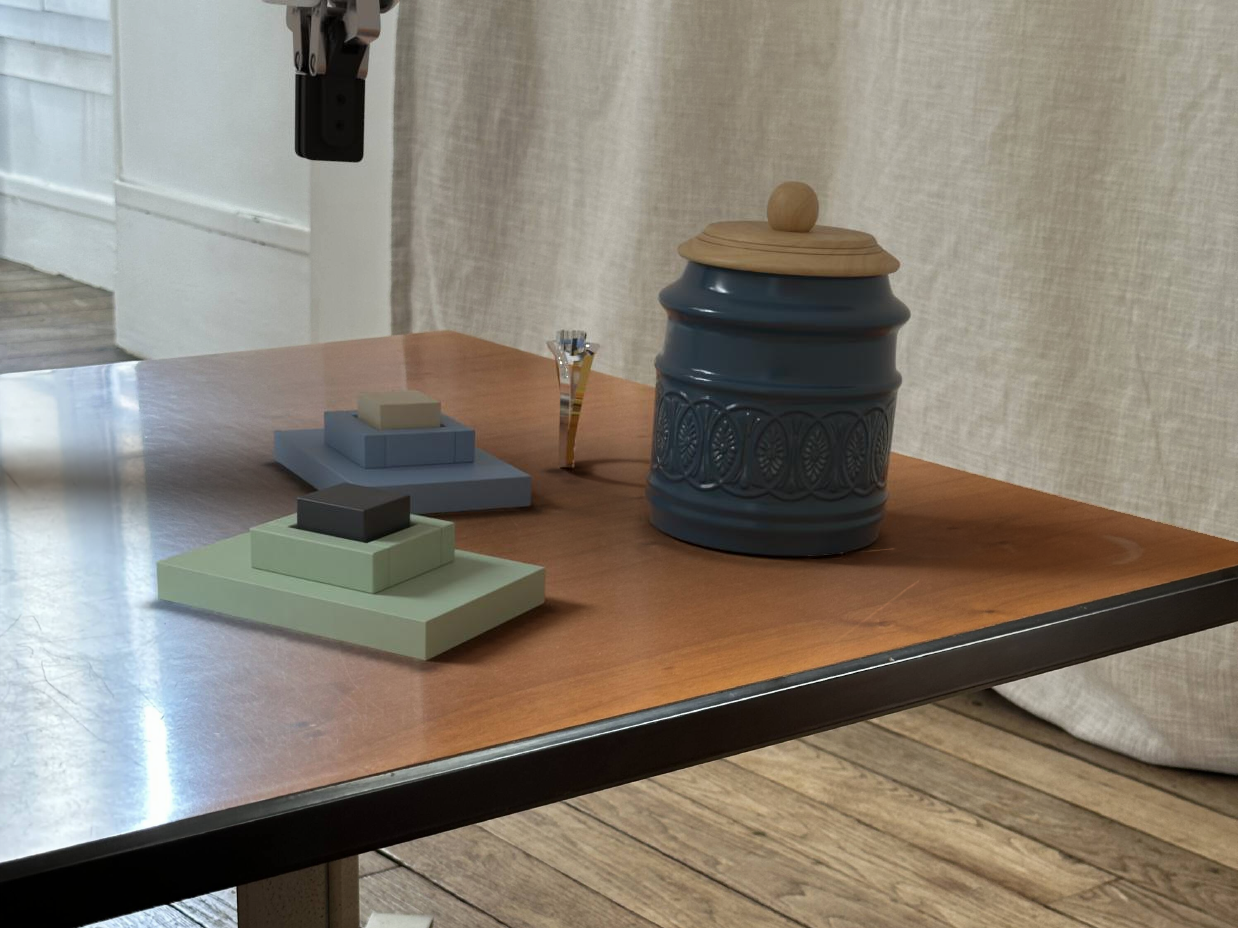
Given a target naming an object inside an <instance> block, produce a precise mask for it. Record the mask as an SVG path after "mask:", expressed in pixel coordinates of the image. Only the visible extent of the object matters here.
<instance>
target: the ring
mask: <svg viewBox="0 0 1238 928" xmlns="http://www.w3.org/2000/svg"><path fill="white" fill-rule="evenodd" d="M555 333H556V335H555V339H552V340H546V341H545V343H546V345H547V349H548V350H549V351H550V352H551V354H552V356H553V357H554V360H555V368H556V374H557V375H556V376H557V380H558V387H559V427H558V428H559V429H558V430H559V431H558V458H559V459H558V463H559V468H560V469H573V470H574V469H575V465H576V461H575V459H576V453H577V452H576V451H577V440H578V425H579V421H580V416H581V411H582V407H583V404H584V399H585V395H586V390H587V385H588V381H589V376H590V373H591V369H592V366H593V362H594V358H595V355H596V354H597V353H598V351H599V350H600V348H601V344H600V343H598V342H591V341H587V336H588V333H587V331H585V330H573V329H572V330H571V331H570V330H565V329H560V330H556V332H555ZM569 361H572V368H571V374H570V365H569Z"/></svg>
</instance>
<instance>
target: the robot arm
mask: <svg viewBox="0 0 1238 928" xmlns="http://www.w3.org/2000/svg"><path fill="white" fill-rule="evenodd" d="M400 1H401V0H261V2H263V3H265V4H270V5H277V6H278V5H279V6H286V12H285V24H286V27H287V28H288V30H290V31H291V33H292V51H293V53H292V54H293V68H294V71H295V74H294V153H295V154H296V156H298V157H299V158H303V159H306V160H309V161H314V162H315V161H317V162H335V163H360V162H362V161H363V159H364V155H365V119H366V118H365V117H366V115H365V114H366V113H365V111H366V79H367V77H368V72H369V64H370V63H369V61H370V48H371V43H372V42H374V41H376V40H377V39H379V37H380V35H381V29H382V25H381V24H382V23H381V21H382V20H381V15H382V14H383V15H384V14H386V13H389V12H390V11H391V10H393V9H394V8H395V7H396V6H397V5H398V4H399V2H400ZM328 3H329V5H330V6H328Z"/></svg>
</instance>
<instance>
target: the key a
mask: <svg viewBox="0 0 1238 928" xmlns="http://www.w3.org/2000/svg"><path fill="white" fill-rule="evenodd" d="M296 513H297V529H299V530H304V531H309V532H314V533H319V534H323V535H328V536H333V537H338V538H343V539H348V540H353V541H358V542H363V543H369V542H372V541H374V540H377V539H380V538H383V537H385V536H388V535H391V534H393V533H396V532H399V531H401V530H404V529H407V528H410V495H408V494H403V493H398V492H392V491H387V490H382V489H377V488H371V487H366V486H361V485H355V484H350V483H345V482H344V483H341V484H338V485H335V486H331V487H328V488H325V489H322V490H316V491H313V492H309V493H306V494H303V495H299V496H297V497H296Z"/></svg>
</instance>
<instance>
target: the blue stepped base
mask: <svg viewBox="0 0 1238 928" xmlns="http://www.w3.org/2000/svg"><path fill="white" fill-rule="evenodd" d="M273 443H274V460H275V461H276V462H277V463H279V464H280V465H282V466H284V467H285V468H286V469H288V470H289V471H290V472H292V473H293V474H295V475H296V476H297V477H299V478H300V479H301V480H303V481H305V482H306V483H307V484H308V485H310V486H312V487H313V488H314V489H316V491H319V490H322V489H325V488H328V487H331V486H335V485H338V484H341V483H344V482H345V483H350V484H355V485H361V486H366V487H371V488H377V489H382V490H387V491H392V492H398V493H403V494H408V495H410V514H413V515H418V516H420V515H430V514H432V515H433V514H444V513H445V514H446V513H458V512H459V513H460V512H472V511H485V510H486V511H487V510H499V509H500V510H501V509H513V508H527V507H531V503H532V502H531V501H532V478H533V477H532V476H531V475H530V474H528V473H526V472H524V471H522V470H521V469H519V468H517V467H515V466H513V465H511V464H510V463H508V462H506V461H504V460H502V459H500V458H498V457H496V456H494V455H493V454H491V453H489V452H488V451H485V450H484V449H481V448H480V447H478V446H476V430H475V429H473V428H472V427H470V426H468V425H466V424H464V423H462V422H460V421H458V420H456V419H454V418H452V417H450V416H449V415H448V414H444V413H443V412H441V426H440V427H431V428H411V429H390V430H376V429H374V428H373V427H371V426H369V425H367V424H366V423H364V422H362V421H360V420H359V419H358V409H350V410H328V411H325V410H324V411H323V428H308V429H305V428H304V429H287V430H284V429H283V430H275V431H274V432H273Z"/></svg>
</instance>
